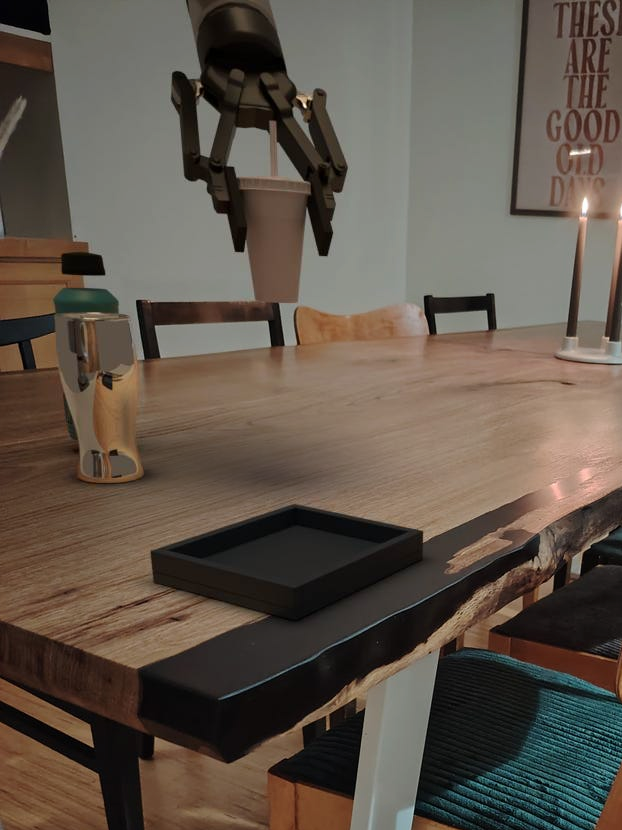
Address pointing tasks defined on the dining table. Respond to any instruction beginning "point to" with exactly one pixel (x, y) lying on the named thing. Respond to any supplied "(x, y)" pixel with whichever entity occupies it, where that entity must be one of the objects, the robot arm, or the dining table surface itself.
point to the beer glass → (101, 392)
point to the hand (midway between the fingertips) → (284, 242)
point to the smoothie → (274, 230)
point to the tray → (287, 559)
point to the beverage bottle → (83, 298)
